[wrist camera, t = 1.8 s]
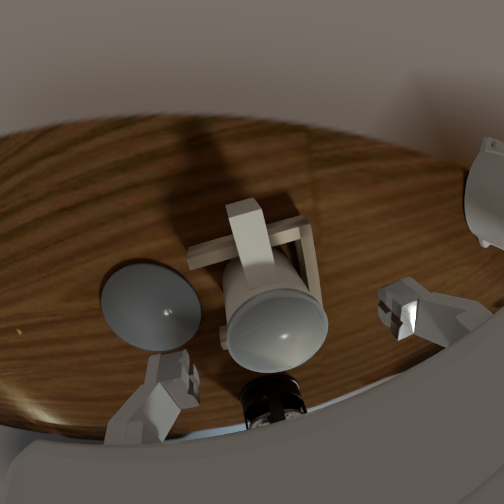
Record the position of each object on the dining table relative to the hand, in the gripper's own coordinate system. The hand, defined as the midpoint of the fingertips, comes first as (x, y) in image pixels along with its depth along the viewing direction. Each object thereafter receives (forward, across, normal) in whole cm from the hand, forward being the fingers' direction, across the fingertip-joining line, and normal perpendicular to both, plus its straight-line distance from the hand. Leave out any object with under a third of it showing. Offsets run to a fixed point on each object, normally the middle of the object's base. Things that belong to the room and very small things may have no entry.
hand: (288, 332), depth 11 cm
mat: (+19, +13, +8) cm, 24 cm away
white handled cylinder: (+19, 0, +5) cm, 19 cm away
